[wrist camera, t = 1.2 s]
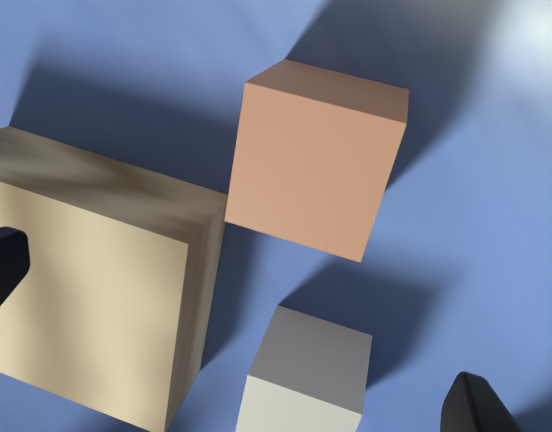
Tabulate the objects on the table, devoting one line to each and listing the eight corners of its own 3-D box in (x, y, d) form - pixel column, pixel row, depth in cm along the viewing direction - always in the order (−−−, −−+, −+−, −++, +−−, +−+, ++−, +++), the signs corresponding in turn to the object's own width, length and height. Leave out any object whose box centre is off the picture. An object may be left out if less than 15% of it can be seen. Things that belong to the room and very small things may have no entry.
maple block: (232, 192, 22) (188, 244, 18) (202, 366, 28) (163, 436, 24) (13, 124, 24) (-76, 156, 19) (28, 302, 30) (-38, 357, 25)
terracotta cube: (409, 88, 18) (406, 124, 14) (372, 202, 20) (360, 262, 16) (285, 58, 19) (245, 82, 14) (264, 171, 21) (224, 221, 17)
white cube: (372, 334, 23) (362, 414, 19) (347, 400, 26) (333, 484, 21) (277, 304, 24) (247, 374, 20) (261, 370, 27) (232, 446, 22)
